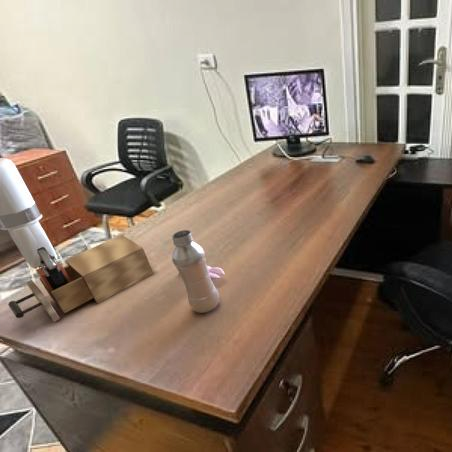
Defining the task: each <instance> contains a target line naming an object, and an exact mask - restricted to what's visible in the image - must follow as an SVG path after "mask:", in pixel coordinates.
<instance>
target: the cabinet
mask: <svg viewBox="0 0 452 452" xmlns="http://www.w3.org/2000/svg"><path fill="white" fill-rule="evenodd" d="M64 261H65V263H66V266H68V265H70V266H71V267H72V268H73V269H74V270H75V271H76V272H77V273H78V274H80V275H81V276H82V277H83V279H84V281H85V282H86V284H87V286H88V288H89V290H90V291H91V293H92V295H93V297H94V298H92V299H91V300H93V301H94V302H96V304H99V303H102V302H103V301H105V300H107V299H109V298H110V297H112V296H114V295H116V294H118V293H120V292H121V291H123V290H125V289H127V288H129V287H131V286H133V285H135V284H136V283H138V282H140V281H142V280H144V279H146V278H147V277H149V276H151V275H153V274H154V271H153V268H152V266H151V264H150V262H149V259H148V256H147V254H146V251H145V249H144V247H143V246H142V245H140V244H138V243H137V242H135V241H134V240H132V239H131V238H128V237H127V236H125V235H124V234H121V235H118V236H116V237H114V238H111V239H109V240H107V241H105V242H103V243H101V244H98V245H96V246H94V247H91V248H89V249H87V250H85V251H82V252H80V253H78V254H75V255H73V256H71V257H69V258H66V259H65V260H64Z"/></svg>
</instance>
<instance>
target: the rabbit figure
mask: <svg viewBox="0 0 452 452" xmlns="http://www.w3.org/2000/svg"><path fill="white" fill-rule="evenodd" d="M207 269H208V272H209V276H210V278H211V279H212V278H214V279H221V276H219V275H222V276H225V272H224V270H223V269H222V268H220V267H216V266H215V267H211V266H209V265H207ZM178 275H179V276H181V275H180V273H179V272H178Z"/></svg>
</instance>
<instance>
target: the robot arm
mask: <svg viewBox="0 0 452 452" xmlns="http://www.w3.org/2000/svg"><path fill="white" fill-rule="evenodd" d="M23 179H24V178H23V177H22V175H21V174H20V171H19V170H18V168H17V166H16V165H15V163H14V162H13V161H12V160H11V159H9V158H5V157H0V230H1V231H7V232H8V234H9V236H10V238H11V239H12V241H13V242H14V244H15V245H16V247H17V249H18V251H19V252H20V254H21V256H22V258H23V259H24V261H25V262H26V263H27V264H28V265H29V266H30V267H31V268H32V269H35V270H37V269H40V268H42V270H43V271H44V273H45V274H46V276H45V277H46V279H47V281H48V282H49V284H50V286H51V287H52V289H53V290H55V289H58V288H60V287H62V286H64V285H66V284H68V281H67V279H66V277H65V275H64V274H63V272H62V270H61V269H60V268H59V267H58V265H57V263H56V261H57V260H58V255H57V253H56V251H55V249H54V247H53V245H52V243H51V241H50V239H49V237H48V235H47V233H46V231H45V230H44V228H43V227H42V224H41V223H40V220H41V219H42V218H43V214H42V212H41V210H40V208H39V206H38V204H37V203H36V202H35V200H34V198H33V196H32V193H31V192H30V191H29V190H30V189H28V187H27V185H26V183H25V181H24V180H23ZM44 266H47V268H45V267H44Z"/></svg>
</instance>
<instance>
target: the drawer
mask: <svg viewBox="0 0 452 452" xmlns="http://www.w3.org/2000/svg"><path fill="white" fill-rule="evenodd" d="M63 268H64V269H65V271H66V273H67V275H68V277H69V278H70V280H71V282H68V284H66V285H64V286H62V287H60V288H58V289H55V290H52V291H50V290H49V289H48V288H47V287H46V286H45V285H44V283H43V281H42V280H41V278H40V277H39V278H38V279H39V281H40V283H41V284H42V286H43V288H44V290H45V291H46V293H48V296H49V297H50V298H51V300H52V301H53V302H54V303H55V304H56V305H57V307H58V308H60V310H61V311H62V312H63V313H64V314H66V313H68V312H70V311H72V310H73V309H75V308H78V307H80V306H81V305H83V304H85V303H87V302H89V301H91V300H93V299H92V298H94V297H93V295H92V293H91V291H90V290H89V288H88V286H87V284H86V282H85V281H84V279H83V277H82V276H81V275H80V274H78V273H77V272H76V271H75V270H74V269H73V268H72V267H71V266H70V265H66V266H63ZM25 284H26V285H27V287H28V289H29V290H30V291H31V293H30V294H28V295H26V296H24V297H22V298H19V299H17V300H11V301H9V302H8V303H7V304H8V307H9V308H10V310H11V311H12V313H13V315H14V316H15V318H17V319H22V318H23V317H25V314H28V313H29V312H31V311H33V310H35V309H38V308H40V307H42V309H43V310H44V311H45V312H46V314H47V315H48V316H49V317H50V319H51V320H52V321H53V322H57V321H58V320H60V316H59V314H58V313H57V312H56V310H55V308H54V307H53V306H52V304H51V302H50V300H49V299H48V297H47V296H46V294H45V293H44V292H42V290H41V289H40V288H39V286H38V285H37V284H36V283H35V282H34V281H33V280H32V279H30V280H27V281H25ZM34 297H35V299H36V300H37V303H36V304H34V305H31V306H30V307H28V308H26V309H24V310H22V309H21V307H20V306H19V304H21V303H22V302H25V301H27V300H29V299H31V298H34Z"/></svg>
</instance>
